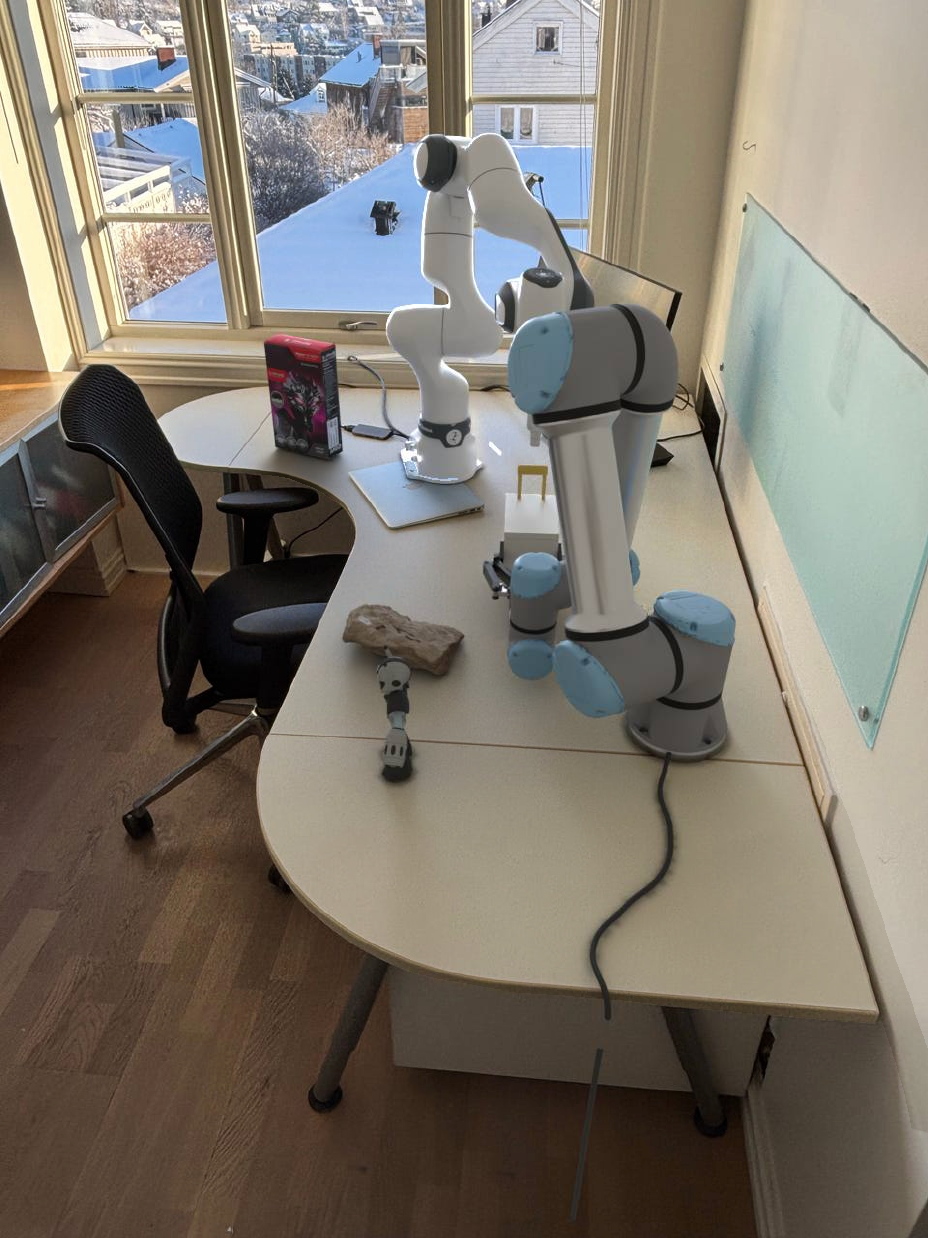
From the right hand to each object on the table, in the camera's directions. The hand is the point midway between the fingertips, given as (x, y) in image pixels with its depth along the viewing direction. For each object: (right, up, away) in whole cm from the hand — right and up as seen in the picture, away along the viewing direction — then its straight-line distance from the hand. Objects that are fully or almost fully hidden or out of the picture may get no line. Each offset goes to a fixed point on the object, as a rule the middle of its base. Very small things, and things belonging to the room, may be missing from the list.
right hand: (530, 548), depth 177 cm
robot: (-23, -35, -40) cm, 58 cm away
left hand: (+1, +22, -1) cm, 22 cm away
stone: (-24, -19, -17) cm, 35 cm away
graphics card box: (-52, +29, +54) cm, 80 cm away
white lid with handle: (0, +6, +2) cm, 6 cm away
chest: (0, -3, +8) cm, 8 cm away
